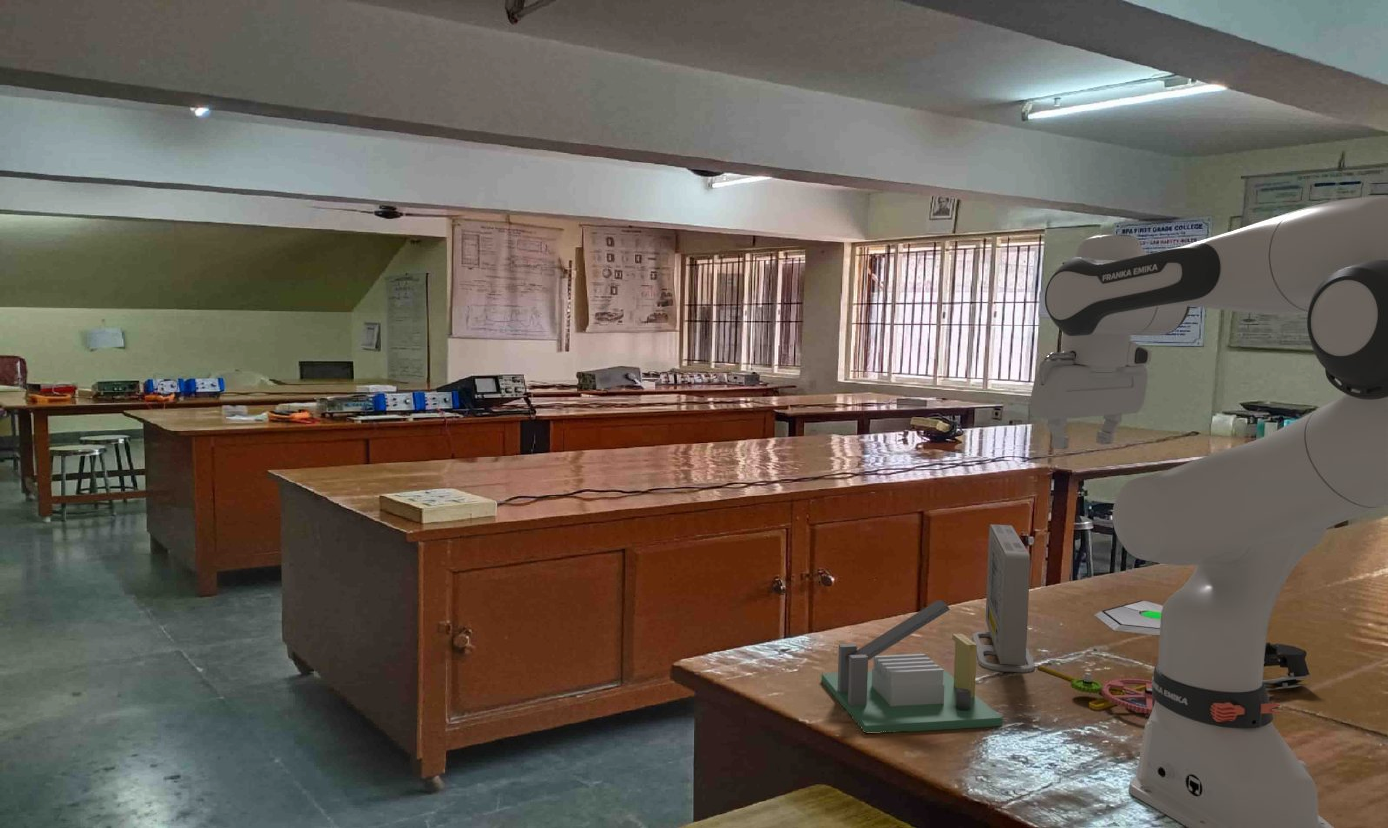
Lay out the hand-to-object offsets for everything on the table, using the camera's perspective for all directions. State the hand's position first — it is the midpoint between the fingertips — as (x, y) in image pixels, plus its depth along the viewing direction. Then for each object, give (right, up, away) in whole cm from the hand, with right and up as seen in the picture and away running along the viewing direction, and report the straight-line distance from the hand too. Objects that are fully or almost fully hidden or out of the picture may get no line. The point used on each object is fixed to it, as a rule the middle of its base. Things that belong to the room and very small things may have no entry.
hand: (1082, 446), depth 139 cm
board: (-25, -38, +4) cm, 45 cm away
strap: (-26, -28, +2) cm, 38 cm away
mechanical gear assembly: (+9, -39, +6) cm, 40 cm away
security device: (+30, -36, +45) cm, 65 cm away
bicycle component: (+32, -39, +13) cm, 52 cm away
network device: (-3, -37, +27) cm, 45 cm away
